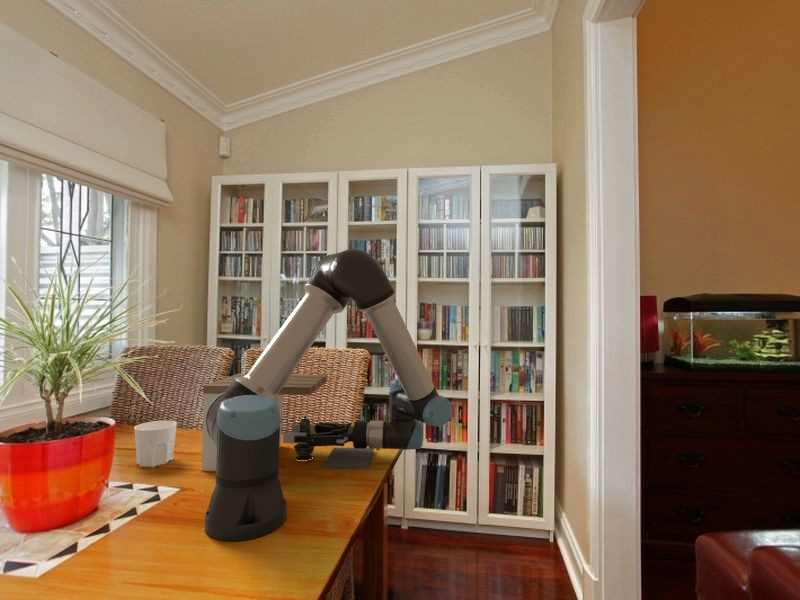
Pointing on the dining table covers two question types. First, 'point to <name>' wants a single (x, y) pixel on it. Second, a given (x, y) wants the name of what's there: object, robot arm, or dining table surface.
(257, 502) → the robot arm
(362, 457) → the mat
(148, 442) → the cup
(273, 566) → the dining table surface
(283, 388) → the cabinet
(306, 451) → the black chess piece
